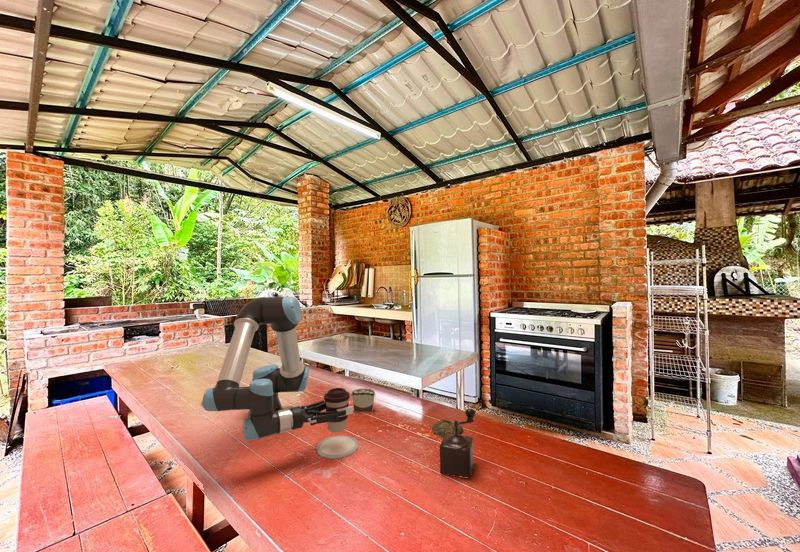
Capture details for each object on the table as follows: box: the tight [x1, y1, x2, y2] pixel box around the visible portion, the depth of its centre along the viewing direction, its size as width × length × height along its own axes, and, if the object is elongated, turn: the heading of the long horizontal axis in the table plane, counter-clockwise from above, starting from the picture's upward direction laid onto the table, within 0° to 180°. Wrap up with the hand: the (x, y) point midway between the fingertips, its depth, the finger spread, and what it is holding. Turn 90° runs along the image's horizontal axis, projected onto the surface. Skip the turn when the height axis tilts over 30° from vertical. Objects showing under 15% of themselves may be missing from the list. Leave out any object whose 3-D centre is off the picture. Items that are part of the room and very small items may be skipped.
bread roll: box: [431, 418, 464, 439], centre depth 140 cm, size 13×12×5 cm
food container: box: [350, 387, 376, 413], centre depth 164 cm, size 12×6×10 cm, turn 84°
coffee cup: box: [323, 387, 351, 433], centre depth 127 cm, size 10×10×15 cm
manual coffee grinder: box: [439, 408, 477, 478], centre depth 115 cm, size 16×11×18 cm
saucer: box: [316, 435, 359, 460], centre depth 128 cm, size 16×16×1 cm
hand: (347, 405), depth 130 cm, fingers closed on coffee cup, 9 cm apart
